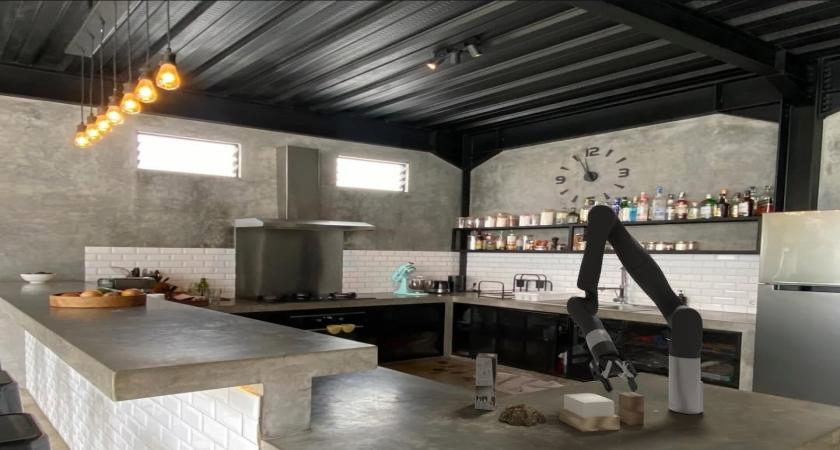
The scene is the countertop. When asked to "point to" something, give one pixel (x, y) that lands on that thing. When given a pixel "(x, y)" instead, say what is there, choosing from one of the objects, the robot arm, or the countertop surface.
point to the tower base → (590, 421)
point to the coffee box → (486, 381)
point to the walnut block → (631, 408)
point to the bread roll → (522, 415)
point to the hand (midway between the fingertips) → (623, 391)
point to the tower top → (588, 405)
